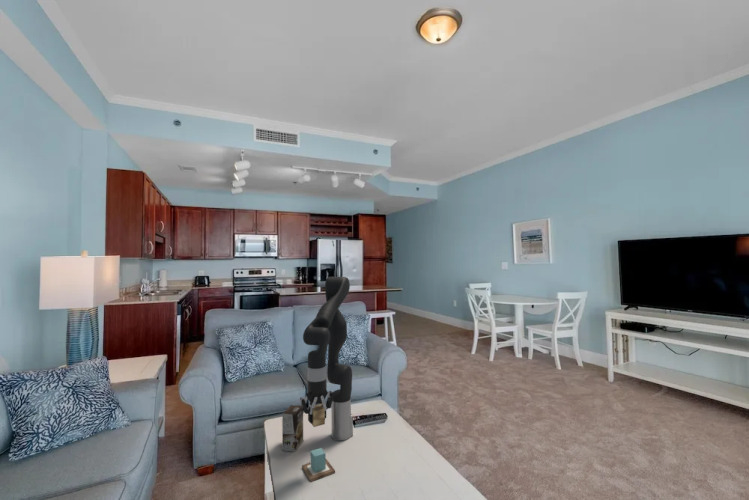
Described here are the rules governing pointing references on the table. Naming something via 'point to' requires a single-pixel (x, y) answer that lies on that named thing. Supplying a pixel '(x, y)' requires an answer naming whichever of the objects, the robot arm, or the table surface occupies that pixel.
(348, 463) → the table surface
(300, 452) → the table surface
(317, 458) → the teal block
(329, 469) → the brown framed white board
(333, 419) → the robot arm
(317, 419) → the ochre block
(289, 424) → the coffee box
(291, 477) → the table surface
